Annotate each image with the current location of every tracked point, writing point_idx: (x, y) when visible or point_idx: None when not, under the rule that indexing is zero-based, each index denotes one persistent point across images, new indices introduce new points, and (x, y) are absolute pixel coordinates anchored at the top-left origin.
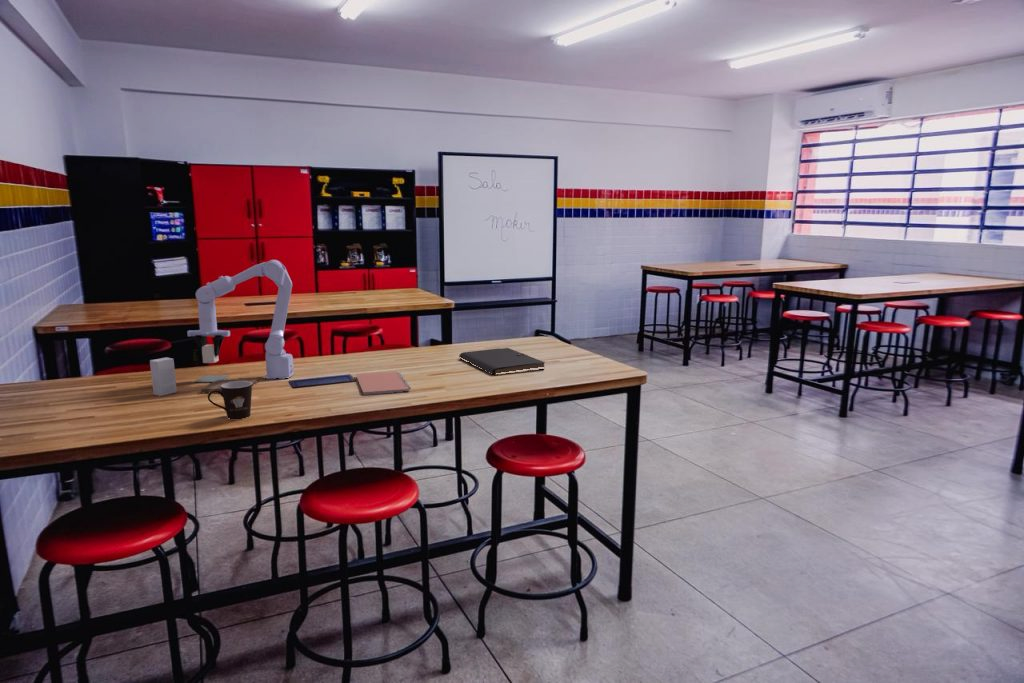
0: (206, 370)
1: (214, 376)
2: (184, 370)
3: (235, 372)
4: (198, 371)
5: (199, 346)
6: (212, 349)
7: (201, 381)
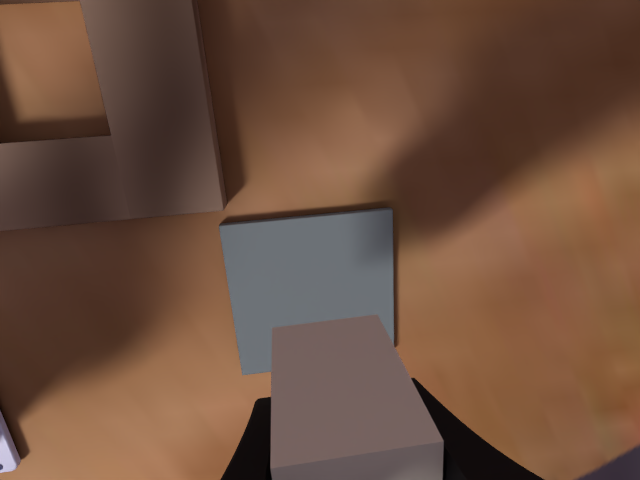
0: None
1: None
2: (560, 452)
3: None
4: None
5: (485, 453)
6: (281, 433)
7: (346, 214)
